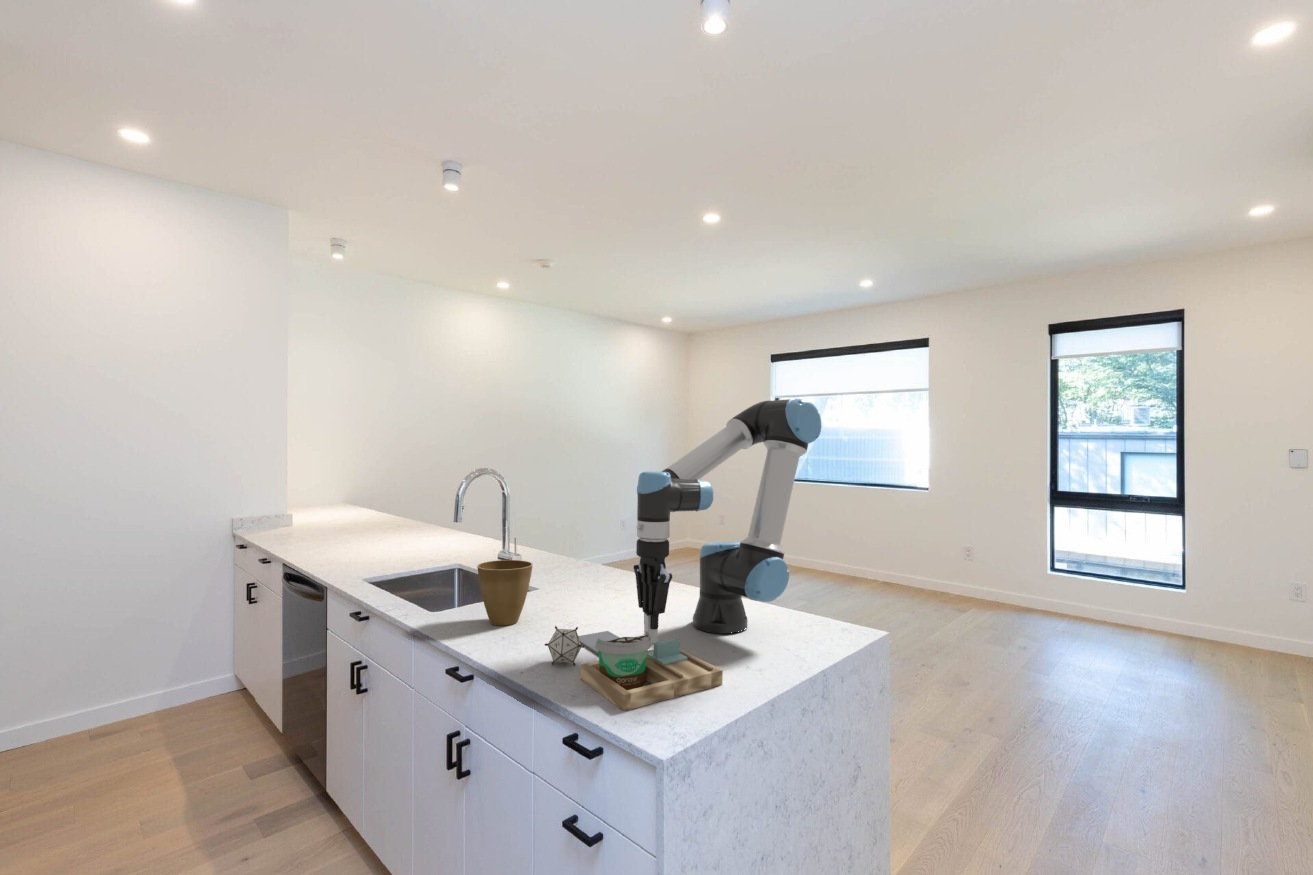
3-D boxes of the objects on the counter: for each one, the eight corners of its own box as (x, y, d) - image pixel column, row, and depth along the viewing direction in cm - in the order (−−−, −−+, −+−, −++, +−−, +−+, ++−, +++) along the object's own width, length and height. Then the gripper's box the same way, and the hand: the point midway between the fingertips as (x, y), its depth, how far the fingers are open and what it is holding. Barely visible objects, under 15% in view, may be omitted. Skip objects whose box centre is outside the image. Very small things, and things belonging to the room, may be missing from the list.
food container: (606, 698, 118) (607, 647, 118) (594, 687, 124) (595, 638, 124) (661, 687, 124) (662, 639, 124) (647, 677, 129) (648, 630, 130)
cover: (669, 650, 138) (670, 634, 138) (687, 659, 132) (688, 643, 132) (645, 655, 134) (645, 639, 134) (662, 665, 128) (663, 648, 128)
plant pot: (542, 620, 169) (543, 563, 169) (502, 633, 157) (504, 572, 157) (505, 611, 177) (506, 556, 177) (464, 623, 165) (465, 564, 165)
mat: (607, 632, 159) (607, 630, 159) (640, 651, 146) (640, 648, 146) (573, 639, 153) (573, 636, 153) (603, 658, 140) (603, 655, 140)
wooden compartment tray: (672, 658, 141) (673, 642, 141) (722, 684, 126) (722, 667, 126) (580, 678, 128) (580, 661, 128) (623, 710, 113) (624, 691, 113)
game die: (566, 682, 135) (561, 656, 129) (540, 661, 139) (534, 635, 133) (593, 655, 140) (590, 628, 134) (567, 635, 145) (563, 609, 139)
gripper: (624, 535, 142) (622, 636, 141) (654, 544, 131) (652, 653, 131) (651, 533, 146) (649, 631, 146) (682, 541, 135) (680, 647, 135)
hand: (650, 641), depth 138 cm, fingers closed
